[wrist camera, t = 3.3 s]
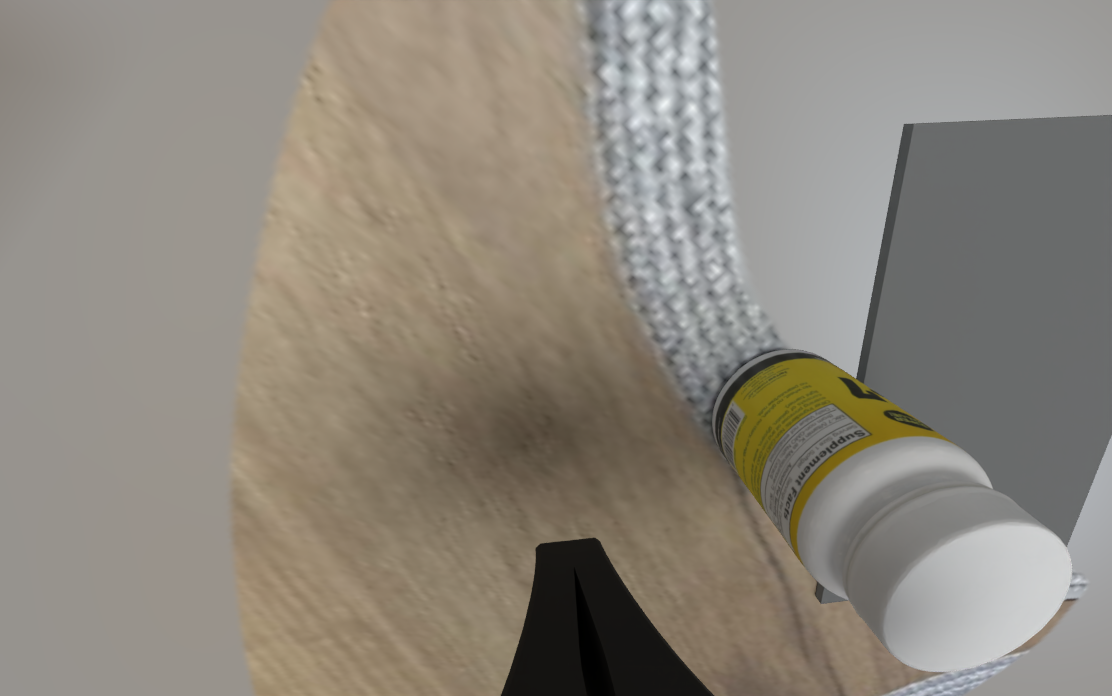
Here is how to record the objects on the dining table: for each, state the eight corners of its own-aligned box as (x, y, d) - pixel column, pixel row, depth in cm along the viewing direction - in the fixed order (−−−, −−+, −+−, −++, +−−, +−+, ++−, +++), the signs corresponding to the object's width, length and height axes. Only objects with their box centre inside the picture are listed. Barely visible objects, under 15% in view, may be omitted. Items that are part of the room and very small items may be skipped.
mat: (1046, 568, 23) (1055, 575, 22) (815, 595, 22) (820, 603, 22) (1225, 110, 16) (1242, 109, 16) (904, 123, 15) (914, 123, 15)
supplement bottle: (865, 404, 19) (1129, 593, 11) (761, 489, 20) (936, 719, 12) (789, 316, 17) (1034, 463, 9) (680, 413, 18) (821, 620, 10)
